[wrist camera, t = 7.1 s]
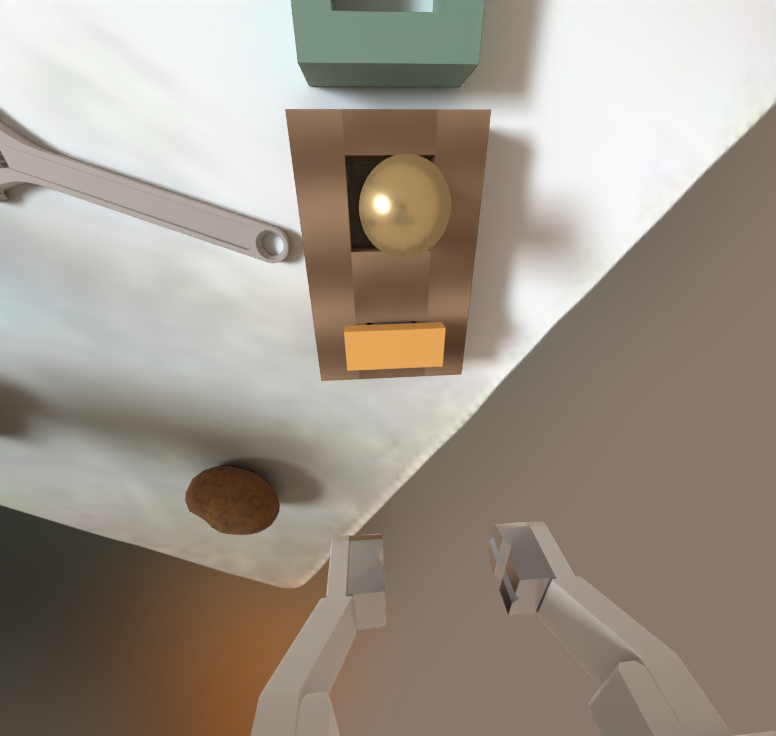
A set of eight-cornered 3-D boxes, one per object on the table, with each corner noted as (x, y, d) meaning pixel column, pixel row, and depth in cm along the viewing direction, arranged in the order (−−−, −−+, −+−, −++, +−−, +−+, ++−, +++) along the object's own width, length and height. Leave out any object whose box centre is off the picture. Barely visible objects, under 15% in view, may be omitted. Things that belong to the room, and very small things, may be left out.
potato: (209, 444, 34) (179, 492, 28) (295, 472, 37) (283, 520, 31) (194, 483, 36) (164, 534, 31) (276, 506, 39) (261, 556, 34)
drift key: (347, 305, 27) (343, 332, 21) (428, 302, 27) (445, 328, 22) (350, 337, 28) (347, 370, 23) (427, 334, 28) (442, 366, 23)
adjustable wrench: (296, 231, 25) (292, 233, 23) (275, 303, 28) (270, 310, 26) (-117, 49, 19) (-161, 36, 17) (-93, 166, 21) (-129, 163, 20)
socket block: (298, 124, 21) (285, 109, 18) (470, 123, 22) (491, 109, 18) (326, 359, 30) (321, 380, 26) (449, 354, 31) (461, 374, 27)
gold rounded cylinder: (359, 175, 23) (356, 154, 12) (413, 174, 23) (455, 153, 13) (362, 234, 25) (361, 258, 14) (411, 233, 25) (447, 256, 15)
